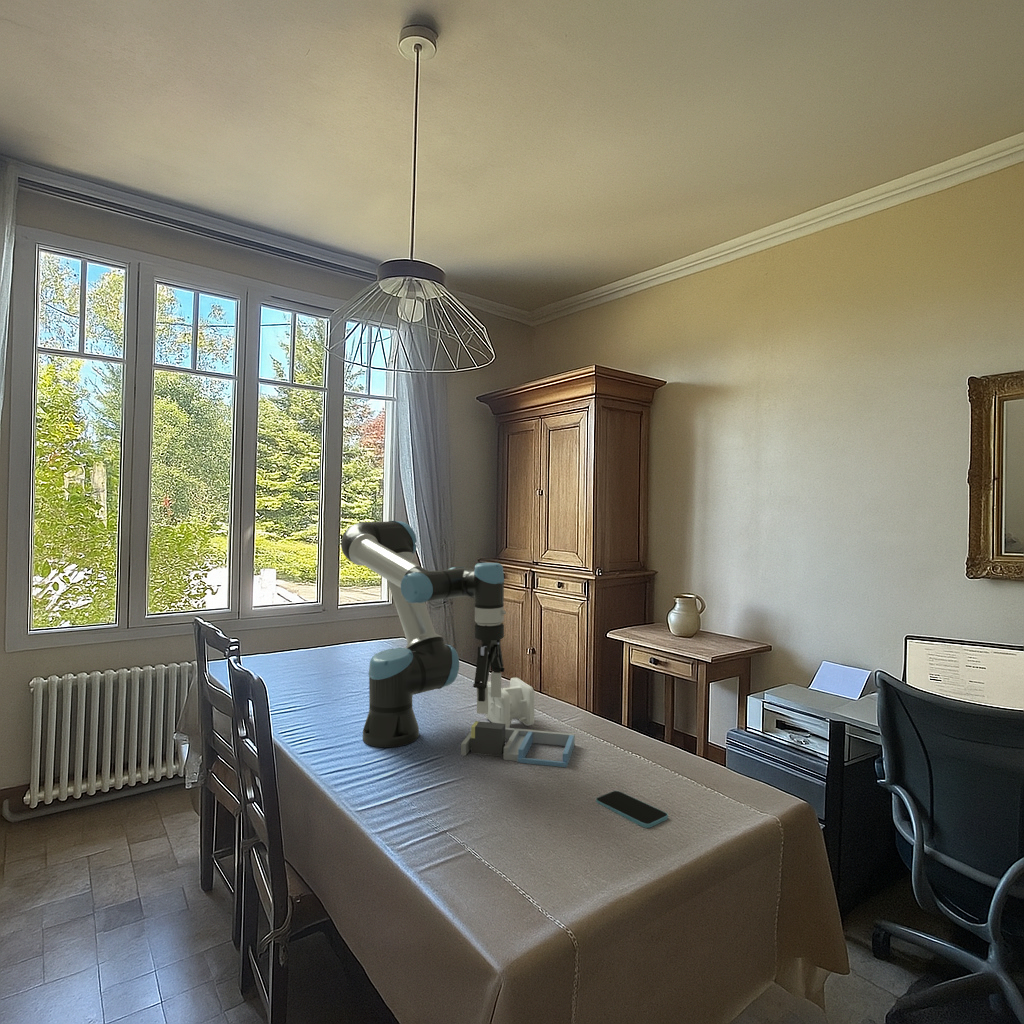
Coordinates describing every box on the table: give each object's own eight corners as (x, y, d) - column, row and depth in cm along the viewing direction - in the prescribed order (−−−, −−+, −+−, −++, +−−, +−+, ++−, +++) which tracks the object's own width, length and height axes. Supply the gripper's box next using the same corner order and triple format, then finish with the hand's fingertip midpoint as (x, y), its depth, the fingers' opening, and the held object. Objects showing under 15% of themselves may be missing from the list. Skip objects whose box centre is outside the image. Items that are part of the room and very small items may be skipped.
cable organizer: (536, 729, 184) (536, 689, 183) (502, 735, 179) (502, 693, 179) (514, 713, 197) (514, 675, 197) (482, 718, 193) (482, 679, 193)
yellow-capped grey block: (471, 753, 167) (471, 726, 167) (475, 747, 171) (475, 721, 171) (501, 756, 165) (501, 729, 165) (505, 750, 169) (505, 723, 169)
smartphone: (616, 789, 146) (670, 814, 134) (616, 794, 146) (670, 819, 134) (593, 799, 141) (647, 825, 129) (593, 804, 141) (647, 830, 130)
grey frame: (460, 756, 165) (460, 744, 164) (475, 735, 179) (476, 724, 179) (566, 767, 158) (567, 755, 158) (574, 744, 173) (574, 733, 172)
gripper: (491, 633, 154) (491, 721, 154) (514, 615, 178) (514, 691, 179) (460, 632, 155) (461, 719, 156) (487, 614, 180) (488, 689, 180)
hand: (489, 704), depth 167 cm, fingers open, 13 cm apart
